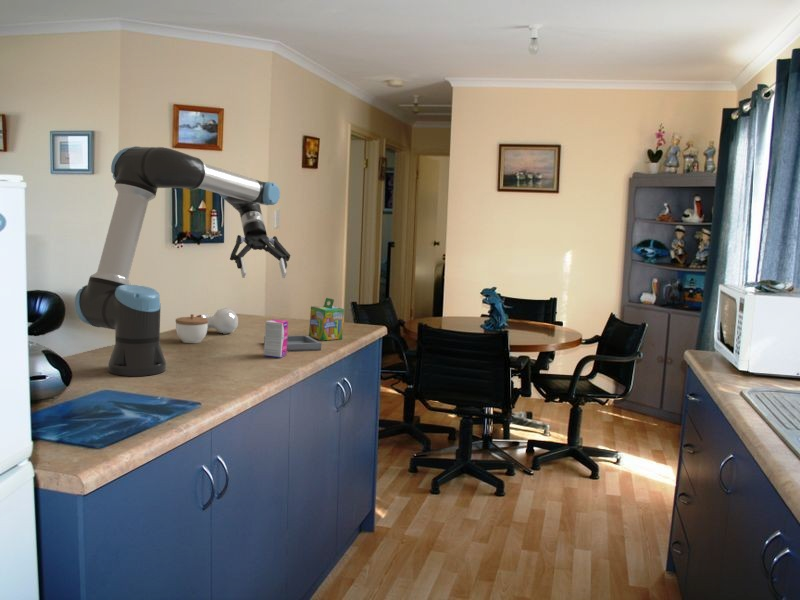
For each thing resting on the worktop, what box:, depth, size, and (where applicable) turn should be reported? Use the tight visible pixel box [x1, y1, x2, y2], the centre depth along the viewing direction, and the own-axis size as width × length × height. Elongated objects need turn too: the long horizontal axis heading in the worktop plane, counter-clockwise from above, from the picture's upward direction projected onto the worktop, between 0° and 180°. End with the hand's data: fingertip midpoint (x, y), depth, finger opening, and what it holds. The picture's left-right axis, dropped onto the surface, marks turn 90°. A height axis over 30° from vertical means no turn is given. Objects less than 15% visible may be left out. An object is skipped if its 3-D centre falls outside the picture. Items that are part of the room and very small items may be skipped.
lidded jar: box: [175, 313, 209, 344], centre depth 249 cm, size 11×11×9 cm
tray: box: [263, 334, 322, 352], centre depth 250 cm, size 15×15×2 cm
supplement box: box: [263, 319, 289, 359], centre depth 233 cm, size 6×6×12 cm
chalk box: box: [308, 297, 345, 342], centre depth 268 cm, size 9×9×15 cm
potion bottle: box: [195, 307, 239, 335], centre depth 268 cm, size 9×10×15 cm
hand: (264, 275), depth 241 cm, fingers open, 13 cm apart
